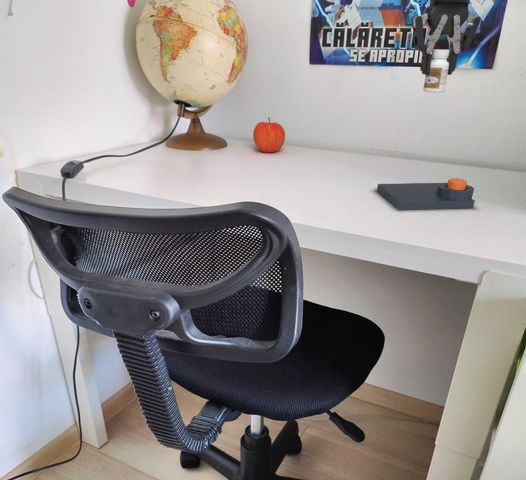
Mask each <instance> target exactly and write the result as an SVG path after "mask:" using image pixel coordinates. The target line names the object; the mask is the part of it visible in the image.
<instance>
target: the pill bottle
mask: <svg viewBox="0 0 526 480" xmlns="http://www.w3.org/2000/svg"><path fill="white" fill-rule="evenodd" d="M431 54H432V58H431V64H430V70H429V74H428V75H424V76H425V77H424V83H423V92H425V93H436V94H437V93H444V92H445V89H446V86H447V85H446V84H447V78H448V75H447V74H448V69H449V63H448V62H447V58H448V56H449V54H450V51H449V49H440V48H439V49H434V48H433V50H432V52H431Z"/></svg>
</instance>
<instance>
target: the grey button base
mask: <svg viewBox="0 0 526 480" xmlns="http://www.w3.org/2000/svg"><path fill="white" fill-rule="evenodd" d="M447 184H448V182H411V183H402V182H401V183H377V187H376V192H378V194H380V196H382V197H383V198H384V199H386V201H388V202H389V203H390V204H391V205H392V206H393V207H395V208H396V209H397V210H398V211H410V210H411V211H414V210H415V211H416V210H418V211H419V210H450V209H453V210H456V209H457V210H458V209H473V208H474V206H475V202H476V200H475V199H473V195H474V192H475V187H474V186H472V185H469V184H466V189H465V190H454V189H449V188H447Z"/></svg>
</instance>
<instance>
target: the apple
mask: <svg viewBox="0 0 526 480" xmlns="http://www.w3.org/2000/svg"><path fill="white" fill-rule="evenodd" d="M267 119H268V122H267V121H260V122H258V123H256V124H255V126H254V129H253V133H252V134H253V137H252V138H253V141H254V144H255V146H256V148H257V149H258V150H259V151H260V152H262V153H275V152H279V151H280V150H281V149H282V147H284V146H283V145H284V143H285V140H286V132H285V128H284V126H282V125H281V124H280V123H278V122H271V118H270V117H267Z"/></svg>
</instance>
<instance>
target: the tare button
mask: <svg viewBox="0 0 526 480" xmlns="http://www.w3.org/2000/svg"><path fill="white" fill-rule="evenodd" d="M447 183H448V184H447V188H449V189H454V190H465V189H466V185H468V180H467V179H464V178H459V177H451V178H448V180H447Z"/></svg>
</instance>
